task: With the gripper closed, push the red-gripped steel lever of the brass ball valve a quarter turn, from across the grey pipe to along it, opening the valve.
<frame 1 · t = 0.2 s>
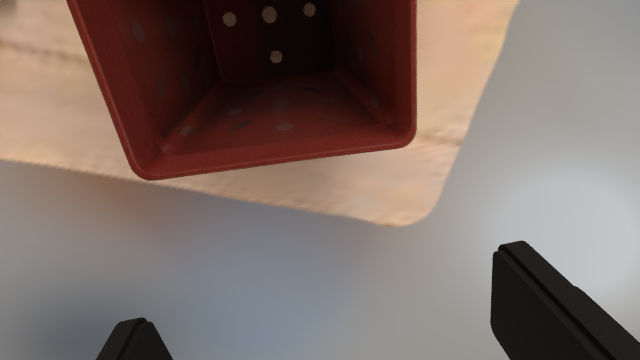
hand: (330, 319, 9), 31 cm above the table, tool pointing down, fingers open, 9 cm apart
plant pot: (267, 15, 34), on the table
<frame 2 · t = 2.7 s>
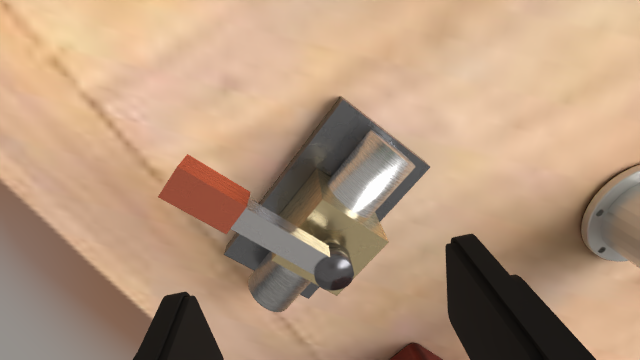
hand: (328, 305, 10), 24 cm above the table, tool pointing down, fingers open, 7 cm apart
valve body: (322, 205, 36), on the table
valve lever: (268, 229, 25), point 10 cm above the table, hinge at -90.0°
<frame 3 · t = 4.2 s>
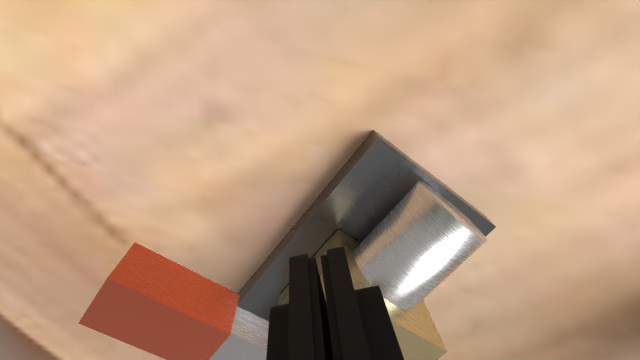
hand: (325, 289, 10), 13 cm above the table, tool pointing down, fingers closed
valve body: (343, 271, 26), on the table
valve lever: (267, 354, 16), point 10 cm above the table, hinge at -90.0°
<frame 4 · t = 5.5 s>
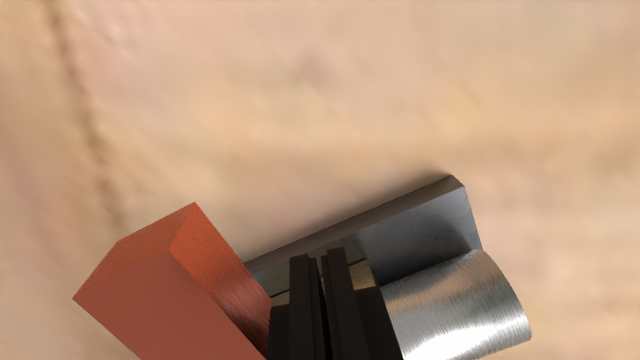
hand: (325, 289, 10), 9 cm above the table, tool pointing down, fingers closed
valve body: (332, 301, 23), on the table
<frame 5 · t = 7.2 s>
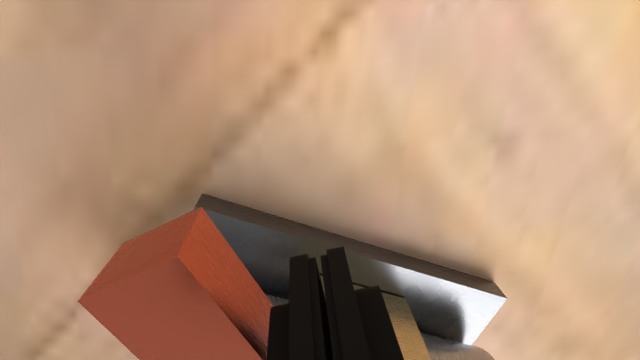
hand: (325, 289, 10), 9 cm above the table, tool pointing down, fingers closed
valve body: (329, 307, 23), on the table
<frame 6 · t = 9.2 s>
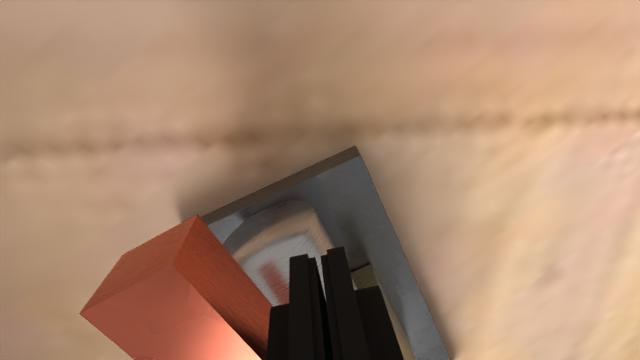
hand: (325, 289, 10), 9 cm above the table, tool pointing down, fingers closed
valve body: (337, 305, 23), on the table
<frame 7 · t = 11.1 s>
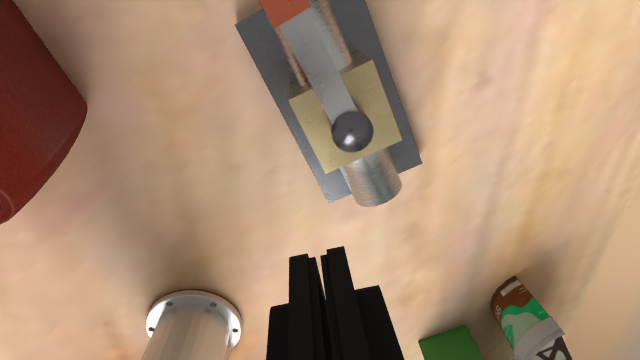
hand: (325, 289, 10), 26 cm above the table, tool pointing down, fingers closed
food container: (503, 304, 49), on the table
valve body: (336, 98, 34), on the table
valve lever: (311, 53, 23), point 10 cm above the table, hinge at 3.6°
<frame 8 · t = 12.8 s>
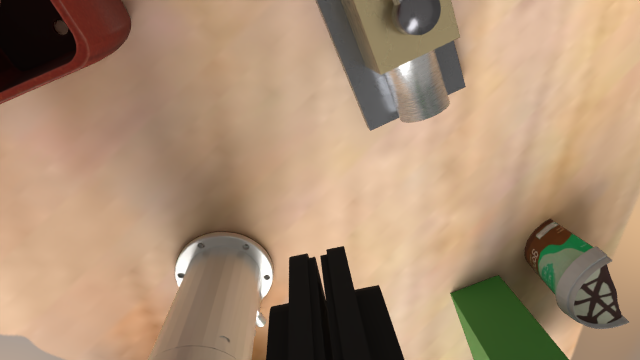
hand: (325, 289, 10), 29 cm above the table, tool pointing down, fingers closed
food container: (537, 251, 48), on the table
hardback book: (485, 321, 54), on the table
valve body: (382, 16, 34), on the table
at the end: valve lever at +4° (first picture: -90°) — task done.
